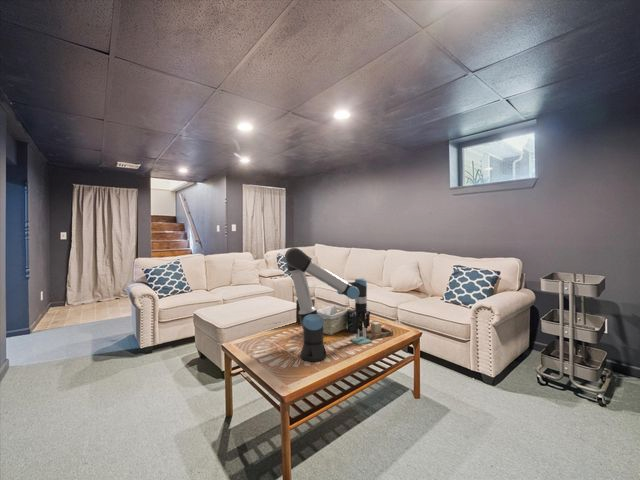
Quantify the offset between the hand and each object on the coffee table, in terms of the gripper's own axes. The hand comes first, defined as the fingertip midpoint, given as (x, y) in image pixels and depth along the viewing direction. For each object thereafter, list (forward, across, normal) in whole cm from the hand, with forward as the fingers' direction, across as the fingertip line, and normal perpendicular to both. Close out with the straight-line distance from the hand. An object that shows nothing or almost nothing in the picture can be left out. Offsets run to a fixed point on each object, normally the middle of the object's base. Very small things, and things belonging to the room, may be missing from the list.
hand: (361, 337), depth 191 cm
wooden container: (+3, -15, +56) cm, 58 cm away
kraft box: (+2, +16, +5) cm, 17 cm away
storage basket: (+2, -6, +30) cm, 30 cm away
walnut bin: (+2, +16, +5) cm, 17 cm away
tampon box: (+2, +9, +20) cm, 22 cm away
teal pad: (+2, 0, 0) cm, 2 cm away
